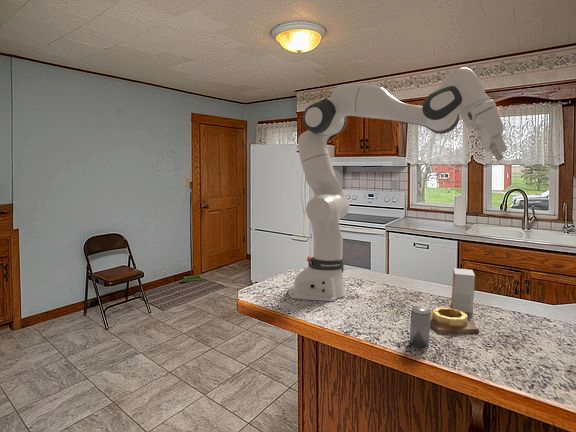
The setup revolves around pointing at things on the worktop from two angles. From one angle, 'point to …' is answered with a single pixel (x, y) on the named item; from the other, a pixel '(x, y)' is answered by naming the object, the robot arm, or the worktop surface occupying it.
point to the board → (445, 329)
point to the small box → (463, 290)
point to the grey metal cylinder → (420, 326)
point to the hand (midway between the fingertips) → (502, 155)
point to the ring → (444, 316)
